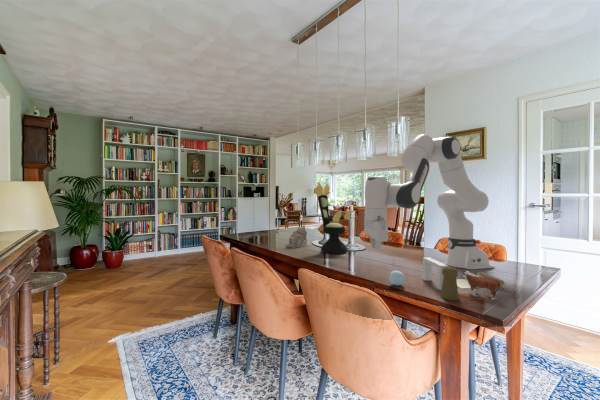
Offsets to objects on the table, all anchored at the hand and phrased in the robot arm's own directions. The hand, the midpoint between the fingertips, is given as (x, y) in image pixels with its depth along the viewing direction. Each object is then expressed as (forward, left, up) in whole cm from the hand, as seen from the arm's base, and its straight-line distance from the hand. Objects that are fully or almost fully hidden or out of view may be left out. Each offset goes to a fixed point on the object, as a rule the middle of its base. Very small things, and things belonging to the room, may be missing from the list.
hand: (375, 249), depth 125 cm
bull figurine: (-35, +14, -15) cm, 41 cm away
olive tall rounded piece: (-23, +15, -15) cm, 31 cm away
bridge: (-25, 0, -15) cm, 29 cm away
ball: (-9, 0, -12) cm, 15 cm away
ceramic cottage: (+28, -94, -15) cm, 100 cm away
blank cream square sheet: (-39, 0, -15) cm, 42 cm away
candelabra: (+7, -70, -15) cm, 72 cm away
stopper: (-49, 0, -15) cm, 51 cm away
